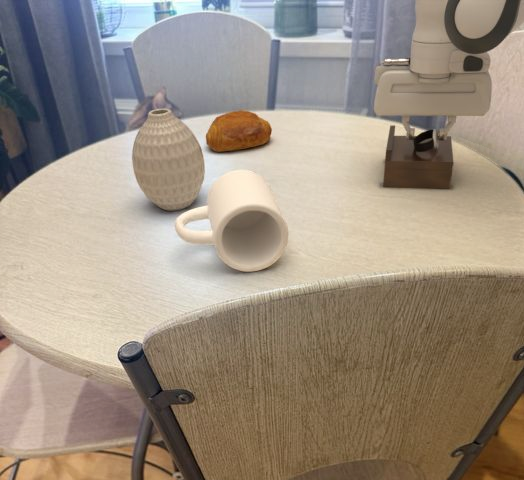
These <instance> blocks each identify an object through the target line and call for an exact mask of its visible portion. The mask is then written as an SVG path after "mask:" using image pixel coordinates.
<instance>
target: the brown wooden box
mask: <svg viewBox="0 0 524 480" xmlns="http://www.w3.org/2000/svg"><path fill="white" fill-rule="evenodd" d="M395 132H396V124H395V125H394V124H393V125H391V124H390V126H389V132H388V137H387V141H386V142H387V143H386V149H385V159H384V160H385V161H384V171H383V172H384V173H383V182H382V186H383V188H407V189H410V188H411V189H437V190H438V189H439V190H441V189H442V190H449V189H450V187H451V186H450V185H451V180H452V173H453V168H454V153H453V142H452V136H451V135H447V140H446V141H441V140H439V146H438V148H435V147H433V148H432V149H430V150H428V151H425V152H417V151H415V147H414V142H413V140H406V135H396V134H395ZM416 136H417V135H414V138H415V137H416ZM432 139H433V138H430V139H426V140H424V141H422V142H420V143H426V142H428V141H430V140H432ZM420 143H419V144H420Z"/></svg>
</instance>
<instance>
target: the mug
mask: <svg viewBox="0 0 524 480" xmlns="http://www.w3.org/2000/svg"><path fill="white" fill-rule="evenodd" d="M206 198H207V199H206V205H204V206H203V205H202V206H198V207H195V208H191V209H189V210H187V211H184V212H182V213H181V214H179V215H178V216H177V217H176V218H175V221H174V228H175V229H174V230H175V232H176V234H177V236H178V237H179V238H180V239H181V240H182V241H184V242H186V243H189V244H193V245H201V246H208V245H209V246H210V245H211V246H212V245H213V246H214V248H215V251H216V253H217V255H218V258H220V259H221V261H222V262H223V263H224V264H226V265H227V266H228V267H230V268H232V269H234V270H236V271H240V272H247V273H249V272H258V271H262V270H265V269H266V268H269V267H270V266H272V265H274V264H275V263H276V262H277V261H278V260H279V259H280V258H281V257H282V255H283V254H284V252H285V250H286V249H287V246H288V242H289V228H288V225H287V222H286V220H285V218H284V216H283V212H282V211H281V208H280V206H279V204H278V201H277V200H276V197H275V195H274V193H273V191H272V189H271V186H270V184H269V183H268V182H267V180H266V179H265V178H264V177H263V176H262V175H260V174H259V173H257V172H254V171H252V170H249V169H234V170H230V171H227V172H225V173H223V174H222V175H221V176H219V177H218V178H217V179H216V180H215V181H214V182H213V184H212V185H211V186H210V188H209V191H208V194H207V197H206ZM202 220H209V223H210V230H192V229H189V228H186V227H185V226H186V225H187V224H189V223H192V222H196V221H202Z"/></svg>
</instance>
